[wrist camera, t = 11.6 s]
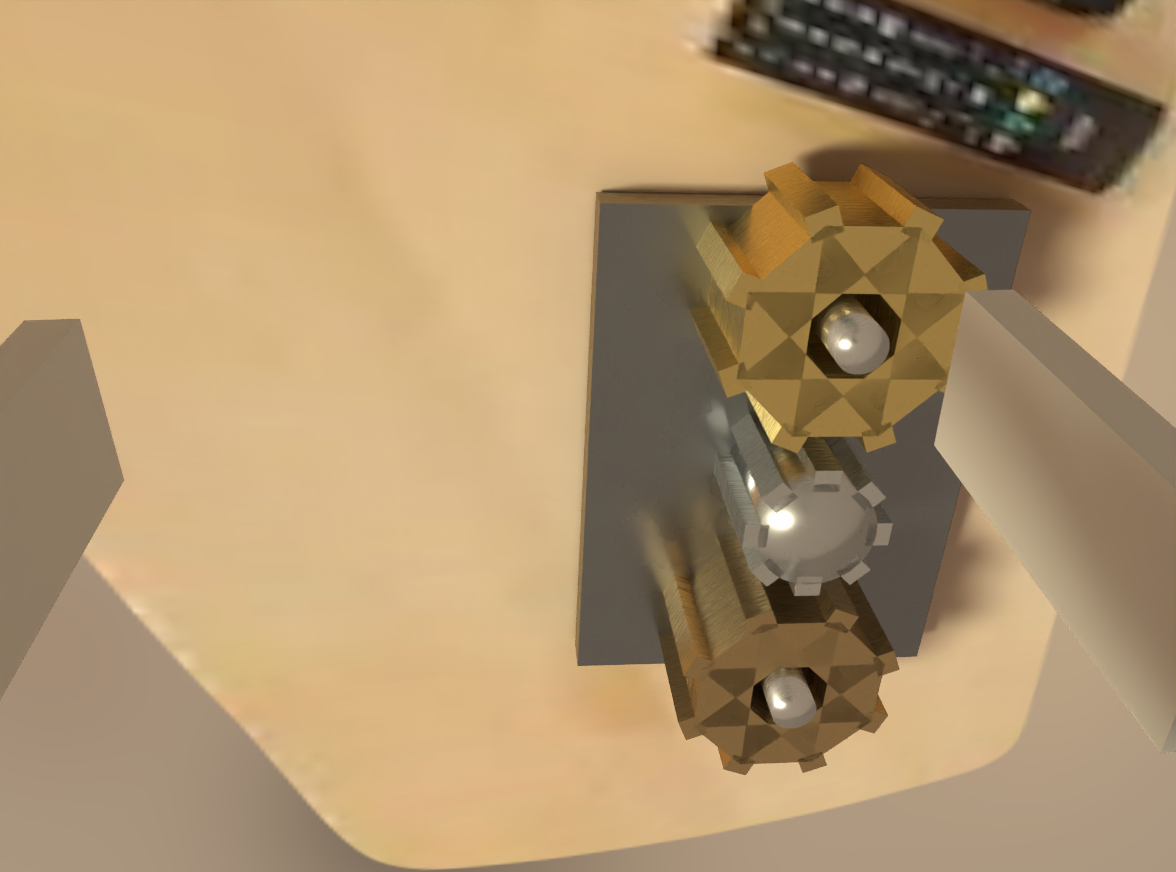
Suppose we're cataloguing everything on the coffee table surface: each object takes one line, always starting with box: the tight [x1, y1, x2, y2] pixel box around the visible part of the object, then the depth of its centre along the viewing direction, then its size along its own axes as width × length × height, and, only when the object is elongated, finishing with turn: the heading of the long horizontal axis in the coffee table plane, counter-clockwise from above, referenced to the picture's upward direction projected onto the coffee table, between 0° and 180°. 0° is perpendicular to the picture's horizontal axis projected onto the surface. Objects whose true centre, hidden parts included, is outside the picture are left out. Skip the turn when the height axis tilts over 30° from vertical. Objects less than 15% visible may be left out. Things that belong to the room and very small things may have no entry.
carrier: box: [575, 192, 1031, 729], centre depth 45 cm, size 24×18×9 cm
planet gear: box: [690, 162, 988, 453], centre depth 40 cm, size 10×10×6 cm
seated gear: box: [659, 534, 899, 775], centre depth 49 cm, size 10×10×6 cm
